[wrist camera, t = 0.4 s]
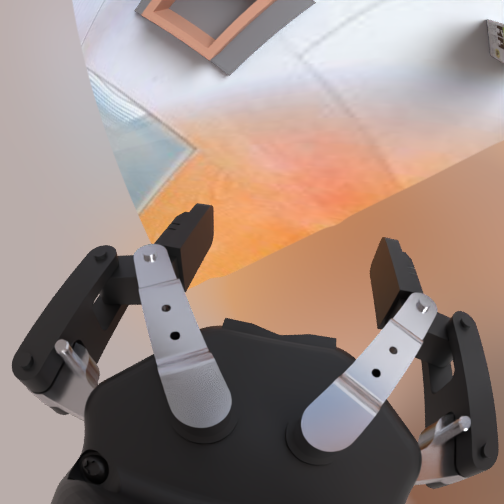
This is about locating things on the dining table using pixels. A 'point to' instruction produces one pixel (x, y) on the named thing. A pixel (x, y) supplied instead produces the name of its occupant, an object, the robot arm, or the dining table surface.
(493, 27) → the coffee box
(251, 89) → the dining table surface
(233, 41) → the planter box on base
